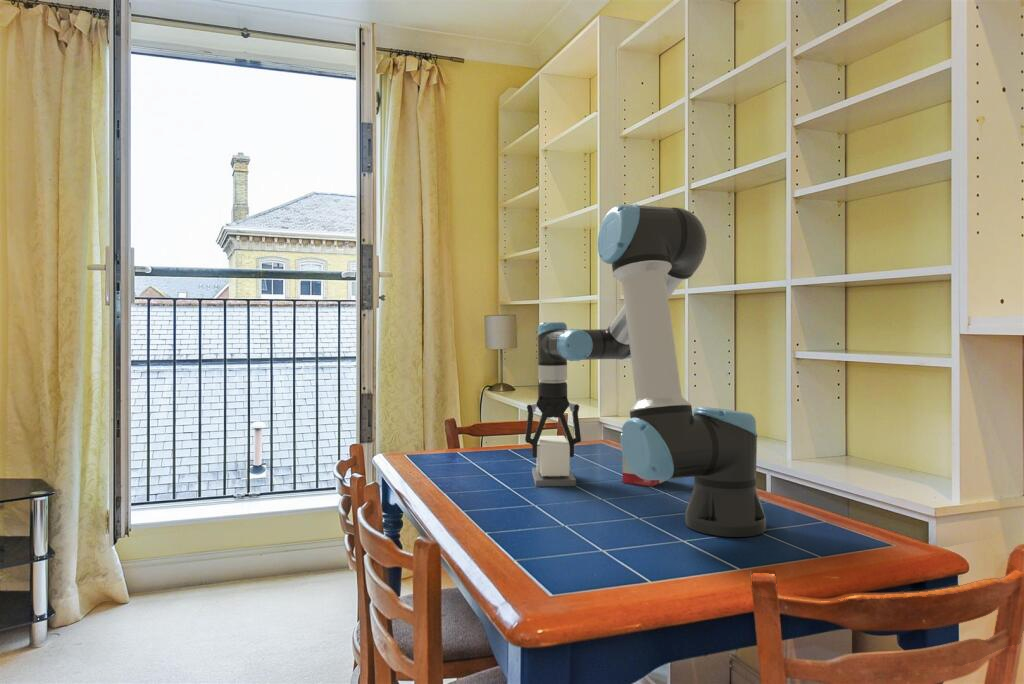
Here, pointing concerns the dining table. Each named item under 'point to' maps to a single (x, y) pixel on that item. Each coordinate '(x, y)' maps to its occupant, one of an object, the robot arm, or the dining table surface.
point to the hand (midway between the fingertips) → (553, 469)
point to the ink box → (636, 477)
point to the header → (553, 479)
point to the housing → (554, 456)
